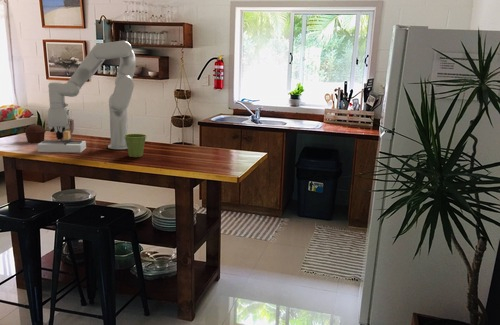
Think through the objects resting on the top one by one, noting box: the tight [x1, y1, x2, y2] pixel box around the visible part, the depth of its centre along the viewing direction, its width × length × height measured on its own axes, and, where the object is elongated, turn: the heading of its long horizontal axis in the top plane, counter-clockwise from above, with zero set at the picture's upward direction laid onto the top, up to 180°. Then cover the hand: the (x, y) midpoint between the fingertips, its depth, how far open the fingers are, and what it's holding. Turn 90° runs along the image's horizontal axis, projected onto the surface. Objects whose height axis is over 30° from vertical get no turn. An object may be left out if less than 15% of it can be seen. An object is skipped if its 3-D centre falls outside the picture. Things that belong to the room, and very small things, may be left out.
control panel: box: [36, 139, 87, 154], centre depth 233 cm, size 22×12×5 cm, turn 97°
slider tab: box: [63, 131, 72, 142], centre depth 232 cm, size 2×4×6 cm, turn 7°
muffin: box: [23, 124, 47, 144], centre depth 249 cm, size 12×11×10 cm
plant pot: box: [124, 133, 148, 158], centre depth 226 cm, size 12×12×11 cm
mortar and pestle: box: [58, 118, 75, 141], centre depth 255 cm, size 12×9×20 cm
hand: (59, 139), depth 232 cm, fingers closed
